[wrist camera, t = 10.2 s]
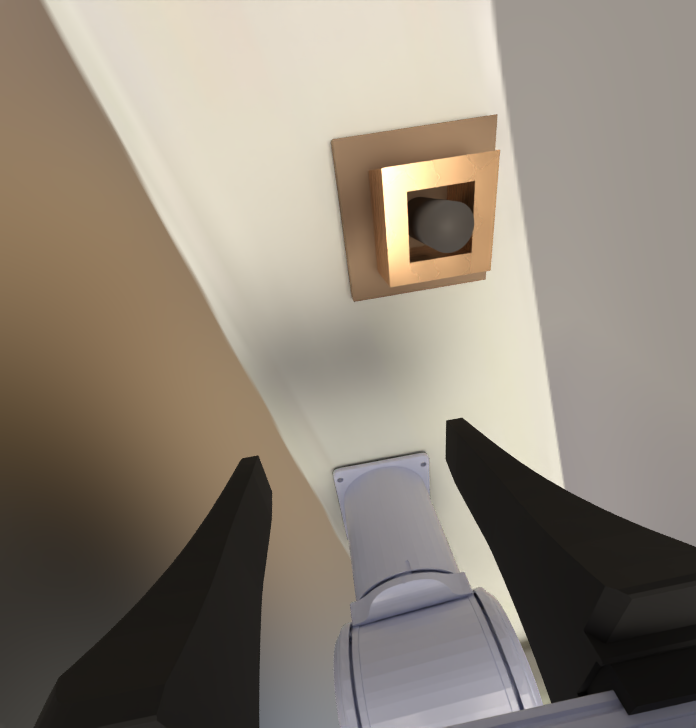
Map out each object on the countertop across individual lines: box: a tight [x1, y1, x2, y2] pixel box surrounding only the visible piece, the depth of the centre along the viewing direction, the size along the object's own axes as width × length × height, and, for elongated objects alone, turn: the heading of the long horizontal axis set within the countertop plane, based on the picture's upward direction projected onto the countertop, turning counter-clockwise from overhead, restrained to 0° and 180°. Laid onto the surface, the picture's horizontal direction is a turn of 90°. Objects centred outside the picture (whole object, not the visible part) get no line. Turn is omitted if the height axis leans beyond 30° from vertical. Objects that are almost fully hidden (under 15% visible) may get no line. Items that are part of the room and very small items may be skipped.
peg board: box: [331, 114, 497, 302], centre depth 16 cm, size 8×8×6 cm
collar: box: [368, 150, 500, 287], centre depth 16 cm, size 5×5×3 cm
